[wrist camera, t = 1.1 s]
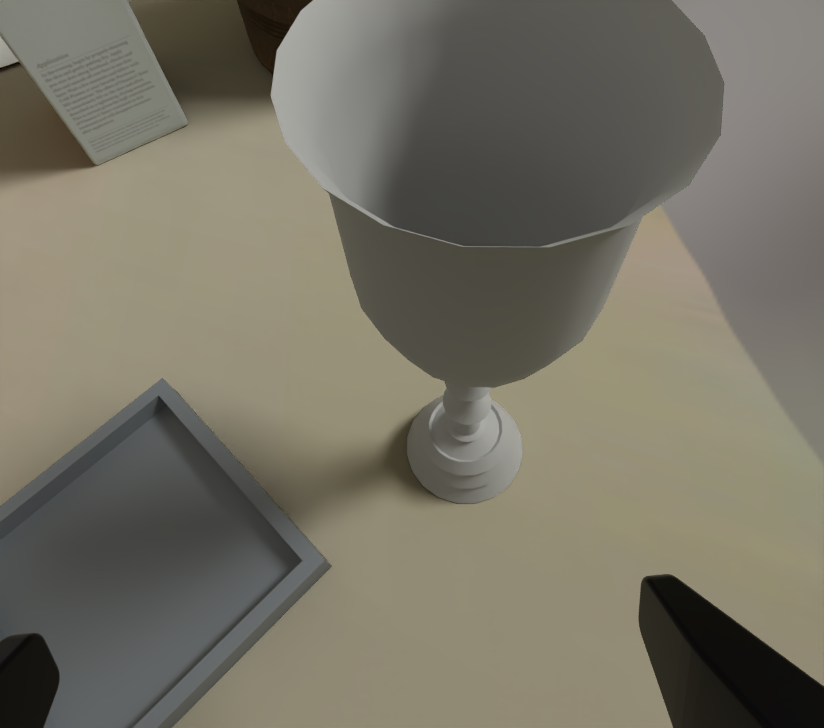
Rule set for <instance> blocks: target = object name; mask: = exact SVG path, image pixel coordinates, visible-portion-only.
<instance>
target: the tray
mask: <svg viewBox="0 0 824 728" xmlns="http://www.w3.org/2000/svg"><path fill="white" fill-rule="evenodd" d="M330 567H331V564H330V563H329V562H328V561H327V560H326V559H325V558H324V557H323V555H322V554H321V553H320V552H319V551H318V550H317V549H316V548H315V546H314V545H313V544H312V543H311V542H310V541H309V540H308V539H307V537H306V536H305V535H304V534H303V533H302V532H301V531H300V530H299V528H298V527H297V526H296V525H295V524H294V523H293V522H292V521H291V520H290V518H289V517H288V516H287V515H286V514H285V513H284V512H283V511H282V509H281V508H280V507H279V506H278V505H277V504H276V503H275V502H274V500H273V499H272V498H271V497H270V496H269V495H268V494H267V493H266V491H265V490H264V489H263V488H262V487H261V486H260V485H259V484H258V482H257V481H256V480H255V479H254V478H253V477H252V476H251V475H250V473H249V472H248V471H247V470H246V469H245V468H244V467H243V466H242V465H241V463H240V462H239V461H238V460H237V459H236V458H235V457H234V456H233V454H232V453H231V452H230V451H229V450H228V449H227V448H226V447H225V445H224V444H223V443H222V442H221V441H220V440H219V439H218V438H217V436H216V435H215V434H214V433H213V432H212V431H211V430H210V429H209V427H208V426H207V425H206V424H205V423H204V422H203V421H202V420H201V418H200V417H199V416H198V415H197V414H196V413H195V412H194V411H193V410H192V408H191V407H190V406H189V405H188V404H187V403H186V402H185V401H184V399H183V398H182V397H181V396H180V395H179V394H178V393H177V392H176V391H175V390H174V389H173V388H172V387H171V386H170V385H169V384H168V383H167V382H166V381H165V380H164V379H163V378H162V379H161V380H159V381H158V382H157V383H156V384H154V385H153V386H152V387H151V388H149V389H148V390H147V391H145V392H144V393H143V394H142V395H140V396H139V397H138V398H137V399H135V400H134V401H133V402H132V403H130V404H129V405H128V406H126V407H125V408H124V409H123V410H121V411H120V412H119V413H118V414H116V415H115V416H114V417H113V418H111V419H110V420H109V421H108V422H106V423H105V424H104V425H102V426H101V427H100V428H99V429H97V430H96V431H95V432H94V433H92V434H91V435H90V436H89V437H87V438H86V439H85V440H83V441H82V442H81V443H80V444H78V445H77V446H76V447H75V448H73V449H72V450H71V451H70V452H68V453H67V454H66V455H64V456H63V457H62V458H61V459H59V460H58V461H57V462H56V463H54V464H53V465H52V466H51V467H49V468H48V469H47V470H46V471H44V472H43V473H42V474H40V475H39V476H38V477H37V478H35V479H34V480H33V481H32V482H30V483H29V484H28V485H27V486H25V487H24V488H23V489H21V490H20V491H19V492H18V493H16V494H15V495H14V496H13V497H11V498H10V499H9V500H8V501H6V502H5V503H4V504H2V505H1V506H0V641H2V640H3V639H5V638H6V637H8V636H11V635H16V634H26V633H38V634H40V635H41V636H43V638H44V639H45V641H46V643H47V645H48V647H49V650H50V652H51V654H52V656H53V658H54V660H55V662H56V664H57V666H58V669H59V673H60V681H59V686H58V690H57V693H56V695H55V698H54V701H53V704H52V706H51V709H50V712H49V715H48V717H47V720H46V723H45V725H44V728H172V727H173V726H174V725H175V724H176V723H177V722H178V721H179V720H180V719H181V718H182V717H183V716H184V715H185V714H186V713H187V712H188V711H189V710H190V709H191V708H192V707H193V706H194V705H195V704H196V703H197V702H198V701H199V700H200V699H201V698H202V697H203V696H204V694H205V693H206V692H207V691H208V690H209V689H210V688H211V687H212V686H213V685H214V684H215V683H216V682H217V681H218V680H219V679H220V678H221V677H222V676H223V675H224V674H225V673H226V672H227V671H228V670H229V669H230V668H231V667H232V666H233V665H234V664H235V663H236V662H237V661H238V660H239V659H240V658H241V657H242V656H243V655H244V654H245V653H246V652H247V651H248V650H249V649H250V648H251V647H252V646H253V645H254V644H255V643H256V642H257V641H258V640H259V639H260V638H261V637H262V636H263V635H264V634H265V633H266V632H267V631H268V630H269V629H270V628H271V627H272V626H273V625H274V624H275V623H276V622H277V621H278V620H279V619H280V618H281V617H282V616H283V615H284V614H285V613H286V612H287V611H288V610H289V609H290V608H291V607H292V606H293V605H294V604H295V603H296V602H297V601H298V600H299V599H300V598H301V597H302V596H303V595H304V594H305V593H306V592H307V591H308V590H309V589H310V588H311V587H312V586H313V585H314V584H315V583H316V582H317V581H318V580H319V579H320V578H321V577H322V576H323V575H324V574H325V573H326V572H327V571H328V570H329V569H330Z"/></svg>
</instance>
